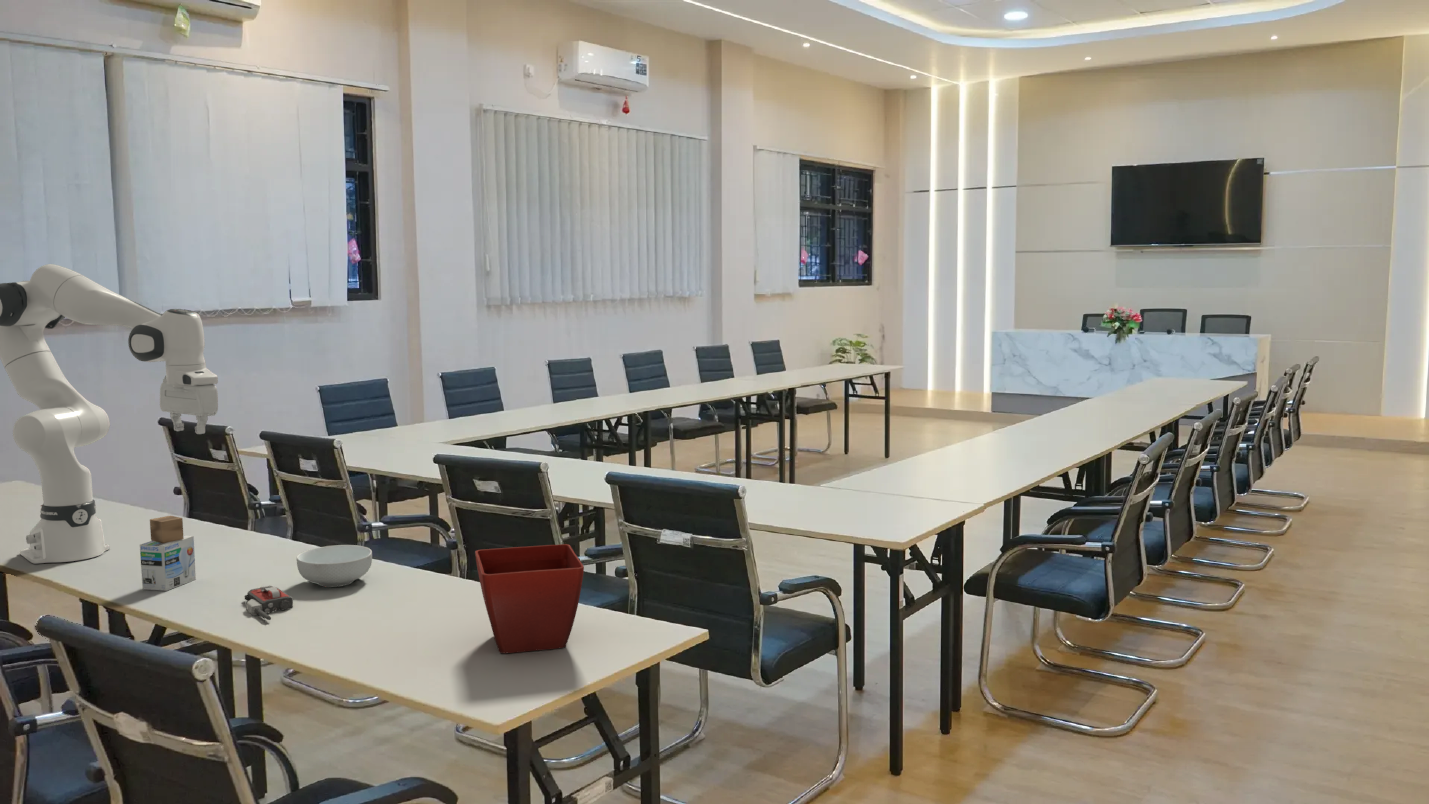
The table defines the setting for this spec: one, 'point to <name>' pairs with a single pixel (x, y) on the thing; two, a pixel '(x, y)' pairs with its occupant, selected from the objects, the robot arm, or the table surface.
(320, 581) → the cereal bowl
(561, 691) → the table surface
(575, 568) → the plant pot
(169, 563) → the light bulb box
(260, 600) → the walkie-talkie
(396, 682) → the table surface
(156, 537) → the walnut cube
